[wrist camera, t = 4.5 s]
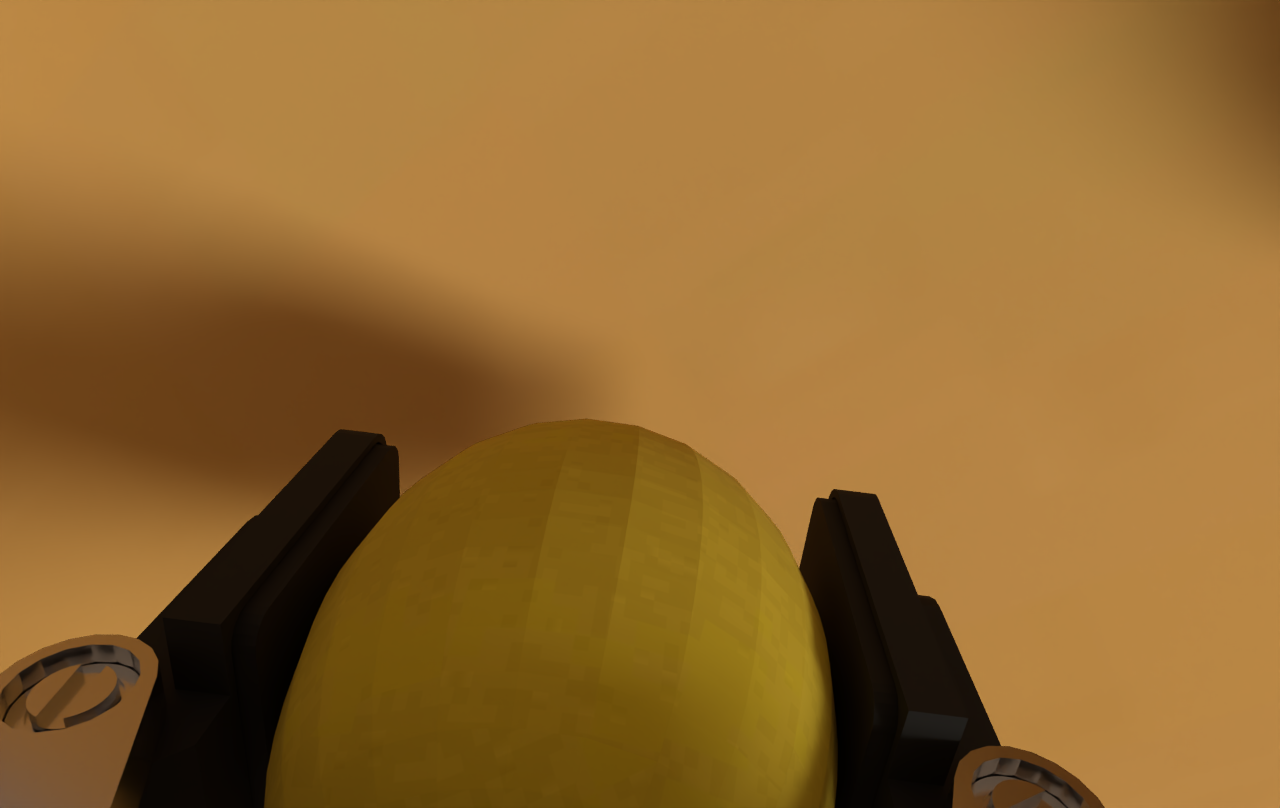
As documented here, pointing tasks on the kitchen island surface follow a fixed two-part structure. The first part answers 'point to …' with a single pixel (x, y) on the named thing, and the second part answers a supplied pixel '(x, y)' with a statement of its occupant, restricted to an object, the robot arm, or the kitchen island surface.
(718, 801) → the lemon
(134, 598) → the kitchen island surface
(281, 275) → the kitchen island surface
